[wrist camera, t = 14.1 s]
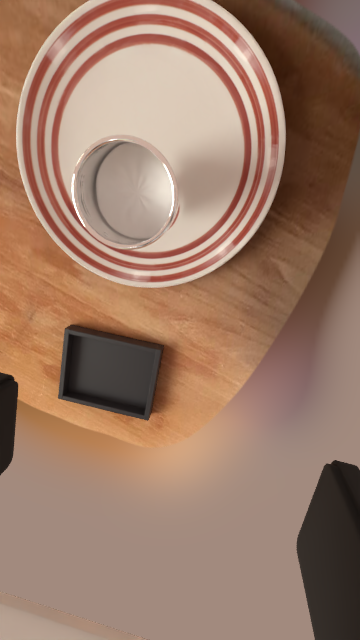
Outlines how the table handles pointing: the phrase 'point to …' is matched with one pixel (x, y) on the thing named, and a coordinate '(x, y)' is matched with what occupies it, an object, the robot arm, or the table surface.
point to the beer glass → (128, 191)
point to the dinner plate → (155, 128)
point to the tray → (109, 371)
